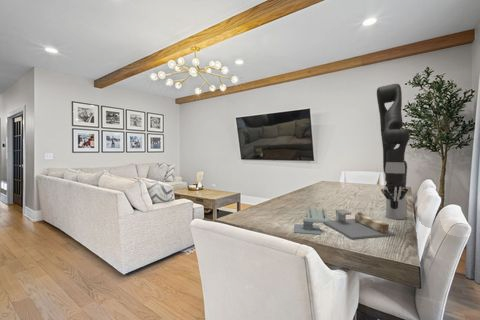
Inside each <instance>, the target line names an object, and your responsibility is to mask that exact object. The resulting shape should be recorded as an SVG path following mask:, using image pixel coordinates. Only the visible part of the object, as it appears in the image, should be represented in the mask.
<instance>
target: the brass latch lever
mask: <svg viewBox="0 0 480 320" xmlns="http://www.w3.org/2000/svg"><path fill="white" fill-rule="evenodd" d="M354 219H355V221H356V222H359V223H362V224H364V225H366V226H368V227H371V228H373V229H375V230H377V231H380V232H381V233H387V232H389V231H390V230H389V227H390V226H389V223H385V222H382V221H380V220H378V219H375V218H373V217H369V216H367V215H365V214H363V213H362V215H359V214H358V213H355V214H354Z"/></svg>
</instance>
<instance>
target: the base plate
mask: <svg viewBox="0 0 480 320" xmlns="http://www.w3.org/2000/svg"><path fill="white" fill-rule="evenodd" d="M357 214H359V215H362V214H363V211H357ZM323 224H324V225H325V226H327V227H329V228H331V229H332V230H334V231H336V232H338V233H340V235H341V234H342V235H343V236H344V237H346V238H348V239H350V240H351V241H352V240H363V239H373V238H383V237H394V236H396V233H395V232H392V231H390V230H389V232H387V233H381V232H380V231H377V230H375V229H373V228H371V227H368V226H366V225H364V224H362V223H359V222H356V221H355V218H346V222H337V221H336V219H334V220H333V219H332V220H330V221H326V223H323Z"/></svg>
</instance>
